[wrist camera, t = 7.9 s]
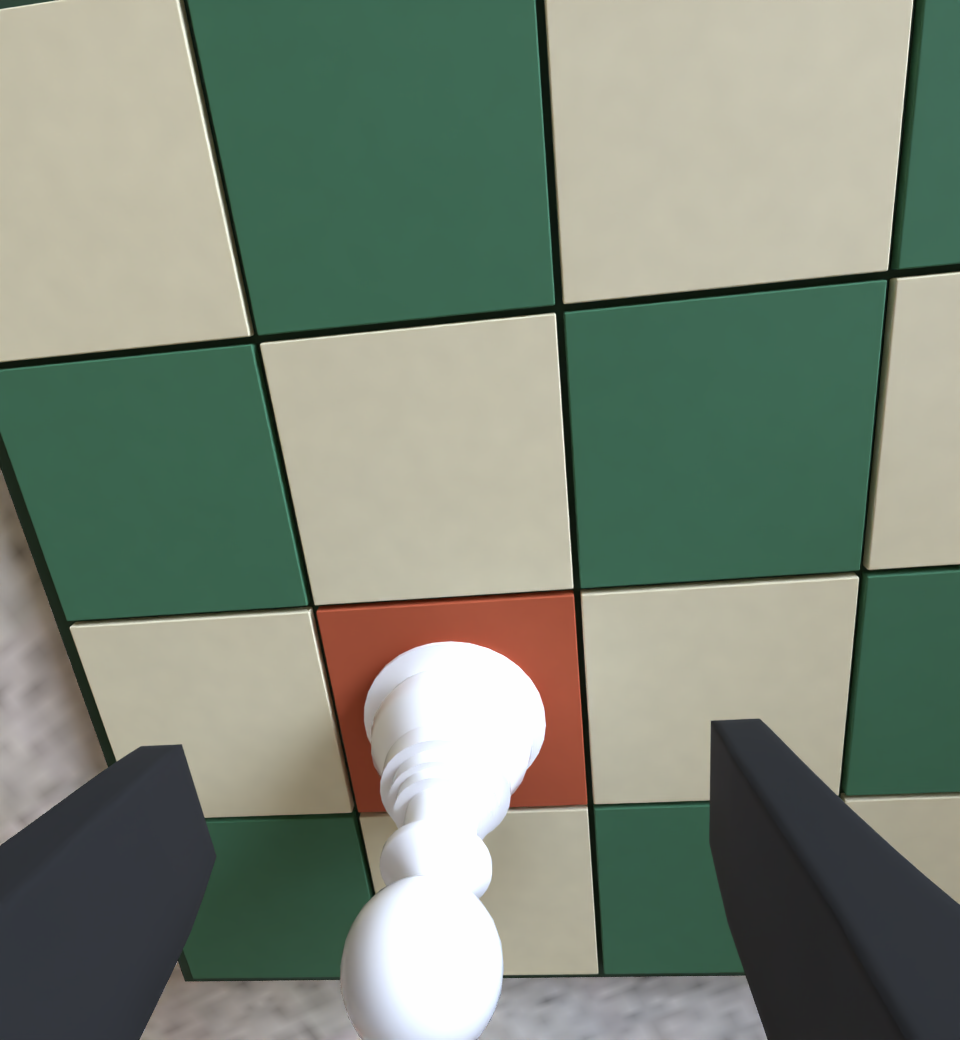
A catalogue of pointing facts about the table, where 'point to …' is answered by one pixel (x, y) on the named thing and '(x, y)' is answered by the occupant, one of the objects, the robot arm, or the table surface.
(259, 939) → the chess mat
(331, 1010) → the table surface
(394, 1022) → the chess pawn
